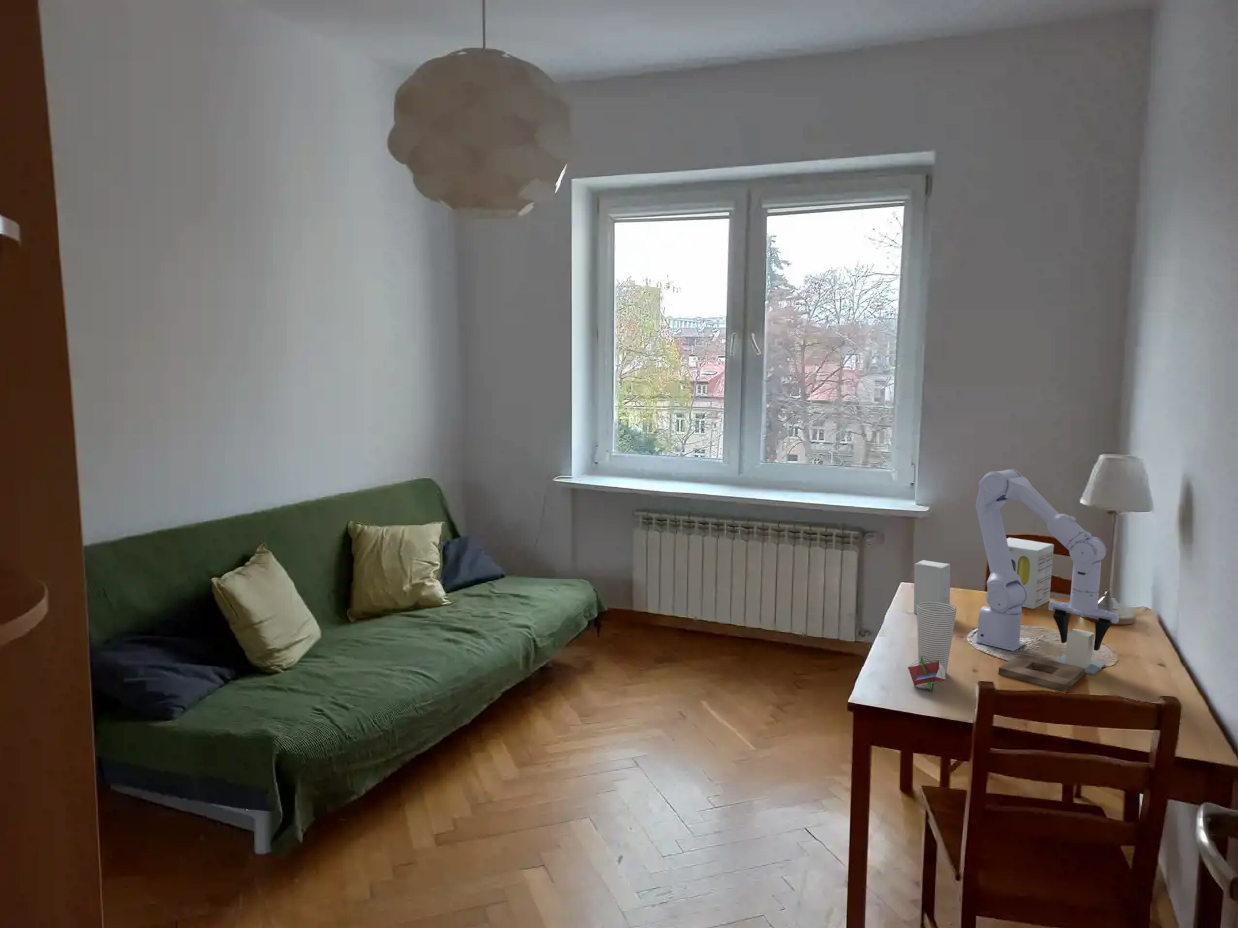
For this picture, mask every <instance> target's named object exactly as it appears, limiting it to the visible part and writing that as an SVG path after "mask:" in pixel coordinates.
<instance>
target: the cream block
mask: <svg viewBox="0 0 1238 928" xmlns="http://www.w3.org/2000/svg"><path fill="white" fill-rule="evenodd" d="M1094 642H1095V632H1091V631H1087V630H1082V629H1077V628H1072V629H1071V630H1070V631H1069V630H1068V633H1067V642H1066V646H1065V648H1066V649H1065V654H1066V657H1065V664H1069V665H1074V666H1078V667H1082V668H1087V667H1088V666H1090V665H1091V664H1092V661H1093V655H1094V651H1093V650H1094Z"/></svg>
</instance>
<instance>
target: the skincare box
mask: <svg viewBox="0 0 1238 928" xmlns="http://www.w3.org/2000/svg"><path fill="white" fill-rule="evenodd" d="M913 567H914V574H913V575H914V576H913V583H914V584H913V585H914V587H913V614H915V615H917V604H918V603H919V602H923V601H936V602H943V603H947V604H951V564H950V563H946V562H945V563H943V562H937V561H932V560H926V559H923V560H920V561H918V562H916V563H914V566H913Z"/></svg>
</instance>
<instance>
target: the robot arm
mask: <svg viewBox="0 0 1238 928" xmlns="http://www.w3.org/2000/svg"><path fill="white" fill-rule="evenodd" d="M1008 500H1015V501H1020V502H1022V503H1023V504H1024V505H1025V506H1026V507H1028V508H1029V509H1030V510H1031V511H1032V512H1034V513H1035V514H1036V515H1037V516H1038V517H1040V518H1041V519H1042V520H1043V521H1045V523H1046V527H1047V532H1049V533H1050V534H1051V535H1052V536H1053V537H1054V538H1055V539H1056V541H1059V543H1060V544H1061V545H1063V547H1064V548H1066V549H1067V551H1068V552H1069V556H1070V559H1071V560H1072V562H1073V563H1072V564H1073V566H1072V573H1071V586H1070V597H1069V599H1070V600H1069V602H1065V601H1064V602H1063V601H1056V600H1050V601H1048V608H1047V609H1048V610H1049V611H1051V612H1052V611H1054V613H1053V614H1052V616H1053V619H1054V621H1055V623H1056V625H1057V629H1058V632H1059V636H1060V643H1061V644H1066V643H1067V633H1068V632H1069V622H1070V617H1071V615H1076V616H1081V617H1086V618H1091V619H1094V620H1095V619H1096V621H1095V622H1094V643H1093V650H1094V651H1096V652H1098V651H1099V650H1100V649H1101V645H1102V641H1103V639H1104V637H1105V635H1106V633H1107V632H1108V630H1109V629H1110V627H1111V626H1112V624H1117V623H1119V621H1120V613H1117V612H1113V611H1109V610H1106V609H1102V608H1098V606H1099V596H1100V595H1099V594H1100V587H1101V586H1100V585H1101V583H1100V582H1101V574H1102V571H1101V570H1102V569H1101V568H1102V560H1103V559H1104V558H1105V557H1106V555H1107V546H1106V544H1105V543H1104V542H1103V540H1102V539H1101V538H1099V537H1096V536H1092V533H1091V532H1090V531H1086V530H1085V529H1084V528H1082V527H1081V526H1080V525H1079V524H1078V523H1077V522H1076V521H1077V519H1076V517H1075V516H1073V515H1068V514H1067V513H1059V512H1058V511H1057V510H1056V509H1055V508H1054V507H1053V506H1052V505H1051V504H1050V503H1049V502H1048V501H1047V500H1046V499H1045V498H1044V497H1043V496H1042V495H1041V494H1040V493H1039V492H1038V491H1037V490H1036V489H1035V488H1034V486H1033V485H1032V484H1031V483H1030V481H1029V479H1028V478H1026V477H1025V476H1023V475H1022V474H1021V473H1020V472H1019V471H1018V470H1016V469H1013V468H1007V469H1004V470H999V471H989V472H987V473H986V474H984V476H983V477H982V478H981V479H980V480H979V482H978V494H977V498H976V502H975V510H976V514H977V518H978V519H977V520H978V523H979V527H980V528H979V529H980V532H981V537H982V540H983V545H984V551H985V555H986V559H987V563H988V568H989V569H988V570H989V572H990V574H989V577H988V579H987V581H986V587H987V592H986V594H985V595H986V597H985V599H986V603H987V605H988V606H987V605H983V606H982V607H981V609H980V611H979V613H978V619H977V620H978V621H977V635H976V640H975V643H977V644H983V645H985V646H986V645H987V646H991V647H995V648H1000V649H1003V650H1007V651H1011V652H1015V651H1017V650H1019V648H1022V647H1023V646H1024V645H1025V644H1026V641H1021V640H1020V639H1021V637H1020V636H1021V624H1022V613H1023V611H1022V610H1023V609H1022V608H1023V607H1022V604H1024V603H1025V602H1026V600H1027V597H1028V593H1027V590H1026V588H1025V587H1024V585H1023V584H1022V582H1021V579H1020V576H1019V575H1018V574H1017V573H1016V572H1015V571H1014V570H1013V565H1012V561H1011V557H1010V552H1009V548H1008V543H1007V534H1006V531H1005V530H1006V529H1005V526H1004V522H1003V516H1002V513H1001V508H1002V507H1003V505H1005V503H1006V502H1007V501H1008Z"/></svg>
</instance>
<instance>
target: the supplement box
mask: <svg viewBox="0 0 1238 928" xmlns="http://www.w3.org/2000/svg"><path fill="white" fill-rule="evenodd" d="M1006 539H1007V543H1008V548H1009V552H1010V557H1011V561H1012V565H1013V570H1014V571H1015V572H1016V573H1017V574H1018V575H1019V576H1020V579H1021V582H1022V584H1023V585H1024V587H1025V588H1026V590H1027V593H1028V597H1027V600H1026V602H1025V603H1024V604H1022V608H1026V609H1037V608H1039V607H1040V606H1043V605H1044V604H1047V603H1049V602H1050V601H1051V599H1050V598H1051V582H1052V572H1053V558H1054V549H1055V548H1054V547H1055V544H1053V543H1048V542H1041V541H1036V540H1029V539H1022V538H1021V539H1020V538H1016V537H1015V538H1014V537H1008V538H1007V537H1006Z"/></svg>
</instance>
